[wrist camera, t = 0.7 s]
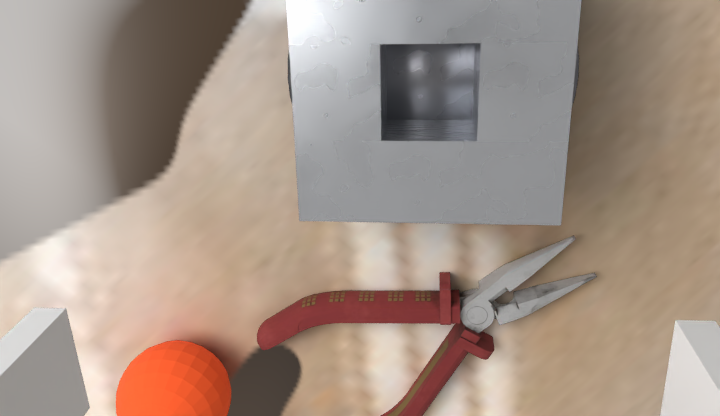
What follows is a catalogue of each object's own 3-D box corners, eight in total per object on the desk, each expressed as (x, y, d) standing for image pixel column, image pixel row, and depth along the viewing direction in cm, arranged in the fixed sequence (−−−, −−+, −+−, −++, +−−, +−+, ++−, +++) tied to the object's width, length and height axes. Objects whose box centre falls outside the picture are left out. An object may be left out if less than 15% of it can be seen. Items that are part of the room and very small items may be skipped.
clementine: (267, 338, 44) (238, 408, 37) (250, 422, 46) (219, 501, 40) (148, 308, 44) (98, 372, 37) (138, 393, 46) (88, 467, 40)
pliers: (623, 320, 41) (635, 344, 39) (349, 444, 47) (344, 471, 44) (536, 166, 38) (542, 181, 36) (255, 317, 44) (244, 338, 41)
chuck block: (295, -73, 34) (257, -79, 27) (575, -81, 33) (616, -90, 26) (308, 185, 39) (279, 239, 32) (552, 188, 38) (581, 246, 31)
